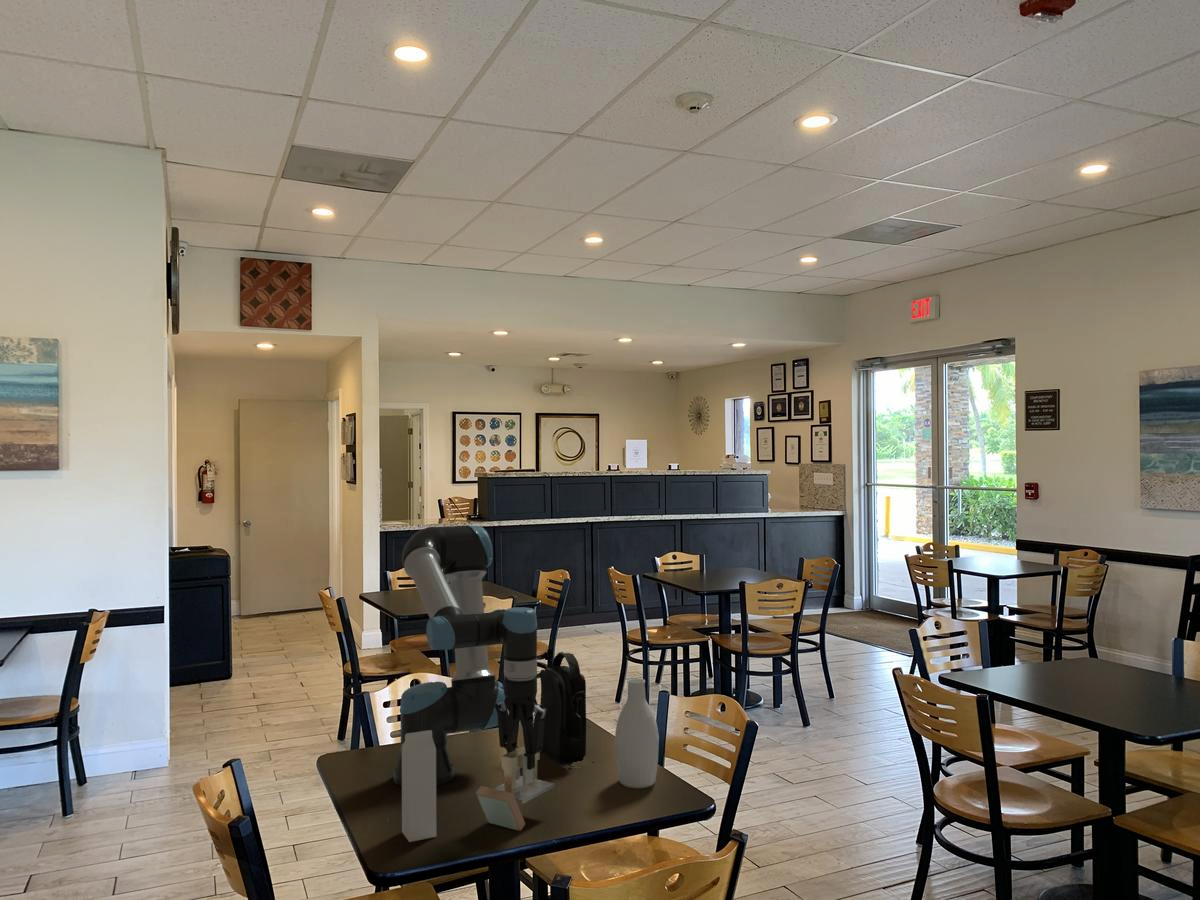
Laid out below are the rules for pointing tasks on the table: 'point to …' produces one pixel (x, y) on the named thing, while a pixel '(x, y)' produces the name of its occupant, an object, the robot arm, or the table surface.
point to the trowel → (521, 778)
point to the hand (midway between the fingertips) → (521, 781)
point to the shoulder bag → (564, 711)
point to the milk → (419, 786)
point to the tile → (500, 808)
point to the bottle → (636, 739)
